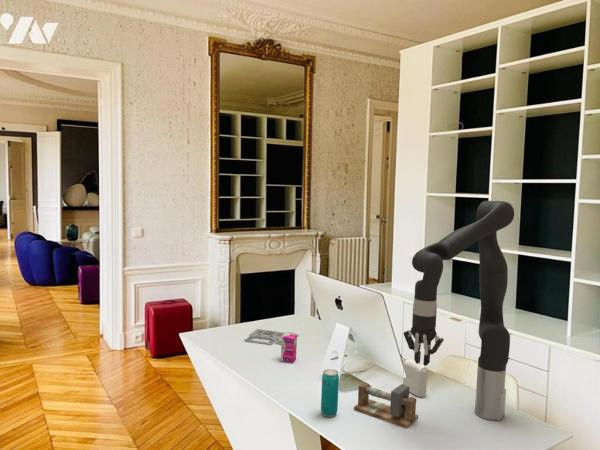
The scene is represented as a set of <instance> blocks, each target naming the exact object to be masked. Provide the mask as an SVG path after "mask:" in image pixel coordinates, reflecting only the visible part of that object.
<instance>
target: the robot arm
mask: <svg viewBox="0 0 600 450" xmlns="http://www.w3.org/2000/svg"><path fill="white" fill-rule="evenodd" d="M475 216H476V221H475V222H473V223H472V222H471V223H470V224H467V225H465V226H462V227H460V228H458V229H456V230H453V231H452V232H450V233H449V234H447V235H446V236H444V237H443V238H442V239H440V240H439V241H438V242H435V243H433V244H430V245H428V246H425V247H423V248H421V249H419V250H418V251H417V252H416V253H415V254H414V255H413V257H412V260H411V265H412V267H413V269H414V270H415V271H417V272H419V273H423V276H422V278H421V279H420V280H417V281H416V282H415V285H414V299H413V303H412V317H411V318H412V320H411V326H412V327H411V328H410V330H405V331H403V333H402V334H403V336H404V339H405V341H406V344H407V346H408V348H409V350H412V351H413V352H414V355H413V356H414V357H413V358H414V359H413V360H414V361H416V364H419V363H421V356H422V355H421V354H422V353H421V348H422V345H423V349H424V351H423V352H424V354H423V363H422V364H423V365H424V366H425V367H427V366H428V365H429V364H430V362H431V361H430V360H431V355H433V354H435V353H437V351H438V350H439V348H440V347H441V345H442V344H443V342H444V338H443V337H440V336H439V335H437V334H438V333H437V331H436V328H437V311H438V306H437V298H438V297H437V295H438V286H439V284H440V281H441V277H442V275H443V271H444V261H449V260H452V259H454V258H455V257H457V256H458V255H459V254H461V253H462V252H464V251H465V250H466V249H467V248H469V247H471V246H472V245H474V244H476V243H477V242H478V252H479V253H478V255H479V259H478V260H479V266H478V279H479V280H478V281H479V282H478V283H479V297H480V298H479V299H480V314H479V323H478V336H479V339H480V340H481V342H480V353H479V356H478V358H477V359H478V360H477V373H476V385H475V386H476V387H475V388H476V389H475V402H474V403H475V404H474V413H475V415H476V416H478V417H479V418H482V419H485V420H490V421H498V422H501V420H502V419H503V418H504V416H505V411H506V397H507V389H506V373H507V365H508V363H509V359H510V346H511V335H510V332H509V330H508V329H507V328H506V327H505V322H504V307H503V306H504V301H505V297H506V293H507V289H508V277H509V276H508V275H509V274H508V273H509V271H508V263H507V260H506V258H505V256H504V253H503V252H502V250H501V248H500V245H499V243H498V238H497V235H498V234H497V233H498V231H501V230H502V229H505V228H507V227H508V226H510V224H512V222H513V220H514V218H515V209H514V207H513V205H512V204H511V203H510V202H507V201H503V200H484V201H482V202H480V204H478V207H477V210H476V215H475ZM413 338H414V339H413ZM433 340H434V345H433V347H432V341H433Z"/></svg>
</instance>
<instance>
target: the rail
mask: <svg viewBox="0 0 600 450" xmlns="http://www.w3.org/2000/svg"><path fill="white" fill-rule="evenodd" d="M357 394H358V395H357V396H358V397H357V404H356V405H355V406H353V409H354V411H357V412H358V413H362V414H365V415H368V416H370V417H373V418H376V419H379V420H381V421H383V422H384V421H385V422H388V423H391V424H393V425H396V426H399V427H402V428H405V429H408V428H409V427H410V426H411V425H412V424H413V423H414V422H416V421H417V420H418V419H419V414H416V412H417V411H416V410H417V398H416V397H413V396H409V398H408V399H406V398H402V405H404V406H405V412H404V413H403V414H401V415H400V416H399V417H396V416H393V415H390V405H389V404H386V403H383V402H380V401H375V400H373V399H370V398H369V395H370V396H371V397H375V398H379V399H383V400H386V401H388V402H389V401H390V402H391V392H387V391H383V390H382V389H378V388H375V387H370V383H367V382H363V383H361V384H360V385H358V393H357Z"/></svg>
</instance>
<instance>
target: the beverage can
mask: <svg viewBox="0 0 600 450" xmlns="http://www.w3.org/2000/svg"><path fill="white" fill-rule="evenodd" d="M339 381H340V376H339V371H338V370H335V369H333V368H332V369H329V368H327V369H324V370H323V373H322V375H321V396H320V397H321V399H320V411H321V413H322V416H324V417H326V418H334V417H335V416H336V414H337V413H338V409H339V408H338V407H339V385H340V384H339V383H340V382H339Z"/></svg>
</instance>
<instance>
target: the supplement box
mask: <svg viewBox="0 0 600 450" xmlns="http://www.w3.org/2000/svg"><path fill="white" fill-rule="evenodd" d="M297 335H298V334H297ZM297 335H294V334H284V335H283V336H282V344H281V345H280V347H281V349H280V351H281V352H280V362H281V363H288V364H294V362H295V361H296V360H297V348H298V347H297V344H298V337H297Z"/></svg>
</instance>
